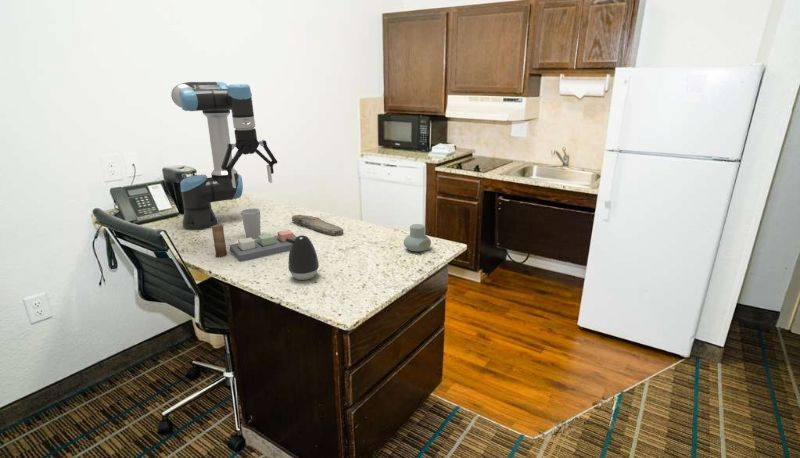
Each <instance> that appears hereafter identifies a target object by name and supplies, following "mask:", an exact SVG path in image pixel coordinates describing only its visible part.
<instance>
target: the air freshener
mask: <svg viewBox="0 0 800 458" xmlns="http://www.w3.org/2000/svg"><path fill="white" fill-rule="evenodd" d="M425 232H426V227H425V225H424V224H421V223H413V224H411V225H410V227H409V235H407V236H406V237H404V240H403V245H404V247H405V249H407V250H409V251H411V252H415V253H416V252H417V253H422V252H424V251H426V250H427V249H429V248H430V247H431V244H432V241H431V238H429V236H427V235H426V234H425Z"/></svg>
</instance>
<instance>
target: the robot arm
mask: <svg viewBox="0 0 800 458" xmlns="http://www.w3.org/2000/svg"><path fill="white" fill-rule="evenodd" d="M171 99H172V102H173V103H174V104H175V105H176V106H177V107H179V108H181V109H182V110H183V111H185V112H198V111H199V112H200V111H201V112H202V115H204V117H206V120H207V126H208V135H209V142H210V149H211V156H212V163H213V170H212V171H211V175H210V176H211V177H208V176H207V175H206V174H196V175H191V176H187V177H185V178H183V179H182V180H180V184H179V186H180V192H181V197H182V205H183V211H184V213H183V218H182V228H183V229H185V230H190V231H197V230H198V231H199V230H205V229H209V228H212V226H214V225H219V224H218V222H219V221H218V217H217V216H216V214H215V213H214V210H213V208H212V203H216V202H223V201H229V200H230V201H233V200H236V199H240V198H241V196H242V194H243V190H244V189H243V188H244V187H243V186H244V183H243V178H242V175H240V174H239V173H238V170H236V169H235V168H234V166H236V164H237V162H238V161H239V160H240V158H241V156H242V155H251V154H252V155H253V154H257V155H258V156H259V157H260V158H261V159H263V161H265V162H266V170H267V178H268V182H269V183H270V184H272V183H273V178H272V175H273V174H274V165H275V164H276V165H277V164H278V160H277V159H276V157H275V155H274V154H273V153H272V150H270V147H269V146H268V143H267V140H265V139H261V140H258V136H257V129H256V128H255V127H256V121H255V113H254V106H253V98H252V92H251V87H250V85H249V84H248V83H247V84H246V83H234V84H233V83H232V84H229V85H228V84H227V83H225V82H223V81H221V82H220V81H188V82H187V81H186V82H184V83H183V82H181V83H180V84H177V85H175V86H174V87H173V89H172V90H171ZM230 114H231V116H232V124H233V128H234V139H235V143H231V137H230V129H229V121H228V116H229V115H230ZM259 146H260V147H262V148H263V149H264V150H265V152H266V154H267V156H268V157H269V158H270V159H268V157H267V156H265V154H264V153H262V152H261V151H260V150H259V149H258V147H259ZM234 148H236V149H237V150H236V152H235V154H234V156H233V154H232V151H233V150H234Z"/></svg>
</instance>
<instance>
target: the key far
mask: <svg viewBox="0 0 800 458" xmlns="http://www.w3.org/2000/svg"><path fill="white" fill-rule="evenodd" d="M276 233H277V235H278V239H279V240H280V241H281V242H286V238H288V239H292V240H294V235H295V233H294V232H293V231H291V230H290V229H287V230H286V229H285V230H282V231H277V232H276Z"/></svg>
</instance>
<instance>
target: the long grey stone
mask: <svg viewBox="0 0 800 458" xmlns="http://www.w3.org/2000/svg"><path fill="white" fill-rule="evenodd" d="M291 221H292V222H293V223H295V224H296V225H298V226H300V227H302V228H306V229H312V230H314V231H315V232H320V233H321V234H325V235H327V236H334V237H339V236H342V235H343V234H344V229H343V228H342V227H341V226H339V225H335V224H334V223H331V222H328V221H327V222H326V221H324V220H322V219H321V218H320V217H316V216H312V215H303V214H294V215H292V216H291Z"/></svg>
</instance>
